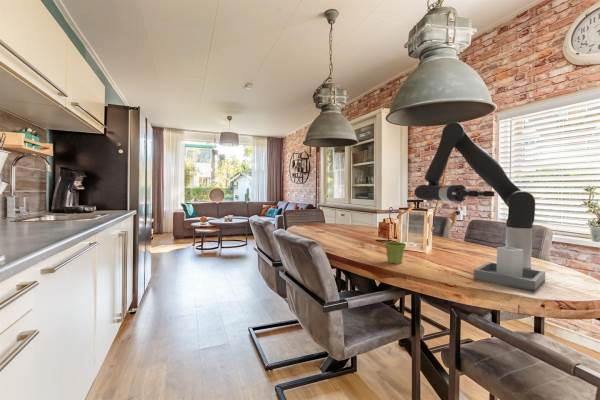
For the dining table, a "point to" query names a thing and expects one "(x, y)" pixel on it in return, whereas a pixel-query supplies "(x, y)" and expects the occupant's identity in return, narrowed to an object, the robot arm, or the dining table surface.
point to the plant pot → (395, 251)
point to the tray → (510, 277)
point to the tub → (510, 261)
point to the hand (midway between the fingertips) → (486, 193)
